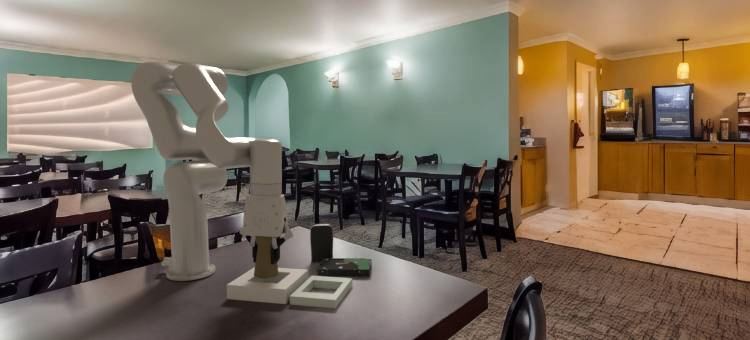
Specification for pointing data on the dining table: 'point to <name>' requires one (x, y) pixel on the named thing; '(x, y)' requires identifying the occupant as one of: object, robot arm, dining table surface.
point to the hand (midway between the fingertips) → (266, 261)
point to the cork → (264, 259)
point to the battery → (321, 242)
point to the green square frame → (320, 299)
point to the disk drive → (344, 267)
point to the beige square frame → (267, 286)
